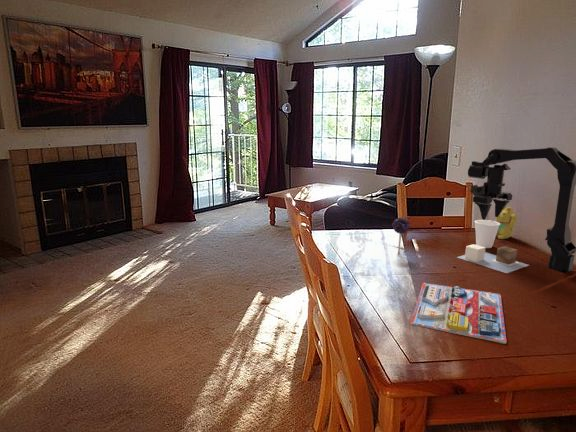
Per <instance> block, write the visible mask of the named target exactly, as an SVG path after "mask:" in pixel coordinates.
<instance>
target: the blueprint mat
mask: <svg viewBox="0 0 576 432" xmlns="http://www.w3.org/2000/svg"><path fill="white" fill-rule="evenodd" d="M496 255H497V254H494V253H493V254H492V253H490V252H487V251H485V256H484V260H482V261H479V262H474V261H471V260H468V259H465V254H463V255H460V256H457V257H456V258H458V259H460V260H464V261H467V262H469V263H472V264H477V265H480V266H483V267H486V268H489V269H492V270H495V271H498V272H502V273H505V274H509V273H512V272H514V271H517V270H520V269H522V268H526V267H528V266H530V264H527V263H524V262H520V261H517V260H516V262H515V263H512V264H509V265H508V264H505V263H502V262H498V261H496Z"/></svg>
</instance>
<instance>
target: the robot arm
mask: <svg viewBox="0 0 576 432" xmlns="http://www.w3.org/2000/svg"><path fill="white" fill-rule="evenodd" d="M535 159H546V160H547V161H548V162H549V163H550V164H551V165H552V166H553V168H555V169H556V172H557V181H558V185H559V188H558V189H559V191H558V197H557V203H556V211H555V217H554V224H553V226H552V227H550V228H547V229H546V237H545V241H546V244H547V246H548V247H549V249H550V251H551V255H550V256H549V260H548V265H547V266H548V267H547V269H550V270H554V271H558V272H561V273H565V274H566V272H568V273H570V272H573V271H574V269H573V265H574V262H575V255H574V254H575V253H576V245H575V244H574V243H573V242H572V233H571V232H572V231H571V228H570V218H571V212H572V207H573V206H572V205H573V201H574V200H573V199H574V192H575V187H576V160H573V159H572V158H571V157H569V156H568V155H566V154H565V153H563V152H561V151H560V150H559V149H558V148H557V147H554V146H552V147H551V146H550V147H545V148H533V149H532V148H531V149H518V150H517V149H511V148H510V149H509V148H494V149H491V150H490V151H489V152H488V155H487V157H486V158H484V160H483V161H482V162H480V161H476V160H475V161H474V160H473V161H471V164H470V165H469V166H468V169H467V175H468V177H469V178H471V179H480V180H484V179H486V181H485V182H483V185H482V186H478V185H477V184H473V185H471V186H470V193H471V194H473V195H472V202H473V203H474V204H475V205H477V206H478V208H479V212H480V216H481V217H480V218H481V220H487V219H486V218H487V216H488V214H489V212H490V210H491V207H492V202H493V203H494V216H495V218H496V217H498V216H499V215H500V213H501V212H502V210H503V209H504V208H505V207H507V205H508V204H509V203H510V201H513V194H512V193H511V192H507V191H502V190H503V187H505V185H506V183H504V177H505V171H510V170H511V167H510V166H508V162H512V161H517V160H518V161H519V160H535ZM501 164H502V165H501ZM486 177H487V178H486ZM564 271H565V272H564ZM569 271H570V272H569Z"/></svg>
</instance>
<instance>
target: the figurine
mask: <svg viewBox="0 0 576 432" xmlns="http://www.w3.org/2000/svg"><path fill="white" fill-rule="evenodd" d="M517 219H518V215H517V214H515V212H514V208H513V207H511V206H505V208H504V209H503V210H502V212H501V213H500V215H499V216H498V217H495V221H496V222H498V223H500V225H499V228H498V231H497V234H496V237H495V238H497V239H500V240H505V239H509V238H510V237H512V235H513V234H514V227H515V225H516V223H517Z"/></svg>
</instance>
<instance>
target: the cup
mask: <svg viewBox="0 0 576 432" xmlns="http://www.w3.org/2000/svg"><path fill="white" fill-rule="evenodd" d="M499 225H500V223H498V222H496V220H491V219H490V220H489V219H485V220H483V219H476V220H474V229H475V245H478V246H482V247H486V248H485V249H491V248H492V247H493V246H494V242H495V239H496V238H497V237H496V234H497V231H498V228H499Z"/></svg>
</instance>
